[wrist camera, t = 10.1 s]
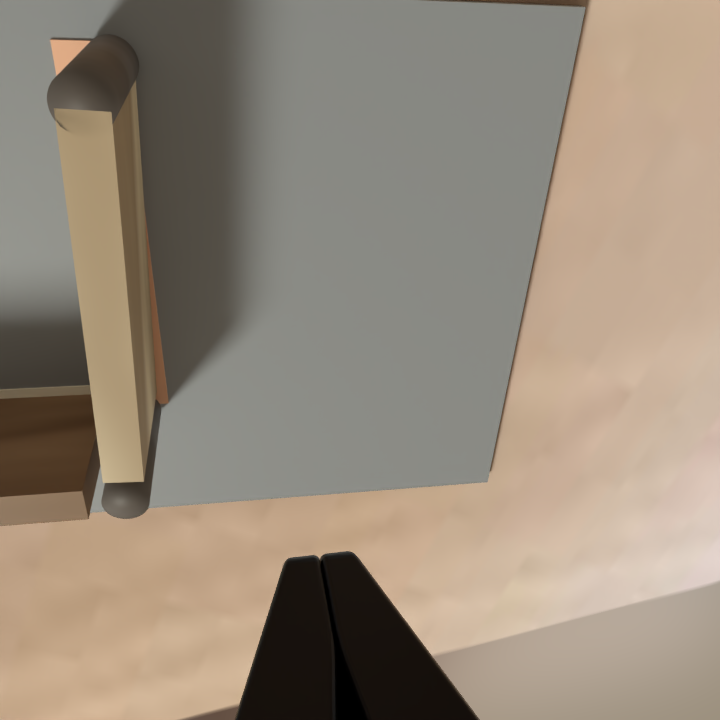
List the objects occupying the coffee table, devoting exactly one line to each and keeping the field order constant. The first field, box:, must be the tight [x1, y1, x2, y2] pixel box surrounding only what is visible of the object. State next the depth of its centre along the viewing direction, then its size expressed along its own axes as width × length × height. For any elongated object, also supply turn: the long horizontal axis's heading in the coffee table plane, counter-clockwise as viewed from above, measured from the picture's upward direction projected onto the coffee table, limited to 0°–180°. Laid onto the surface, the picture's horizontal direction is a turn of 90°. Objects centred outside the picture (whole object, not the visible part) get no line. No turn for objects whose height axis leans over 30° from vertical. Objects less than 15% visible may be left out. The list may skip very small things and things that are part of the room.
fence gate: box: [47, 34, 161, 519], centre depth 17 cm, size 1×11×4 cm, turn 174°
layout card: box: [0, 0, 586, 513], centre depth 20 cm, size 16×23×1 cm
